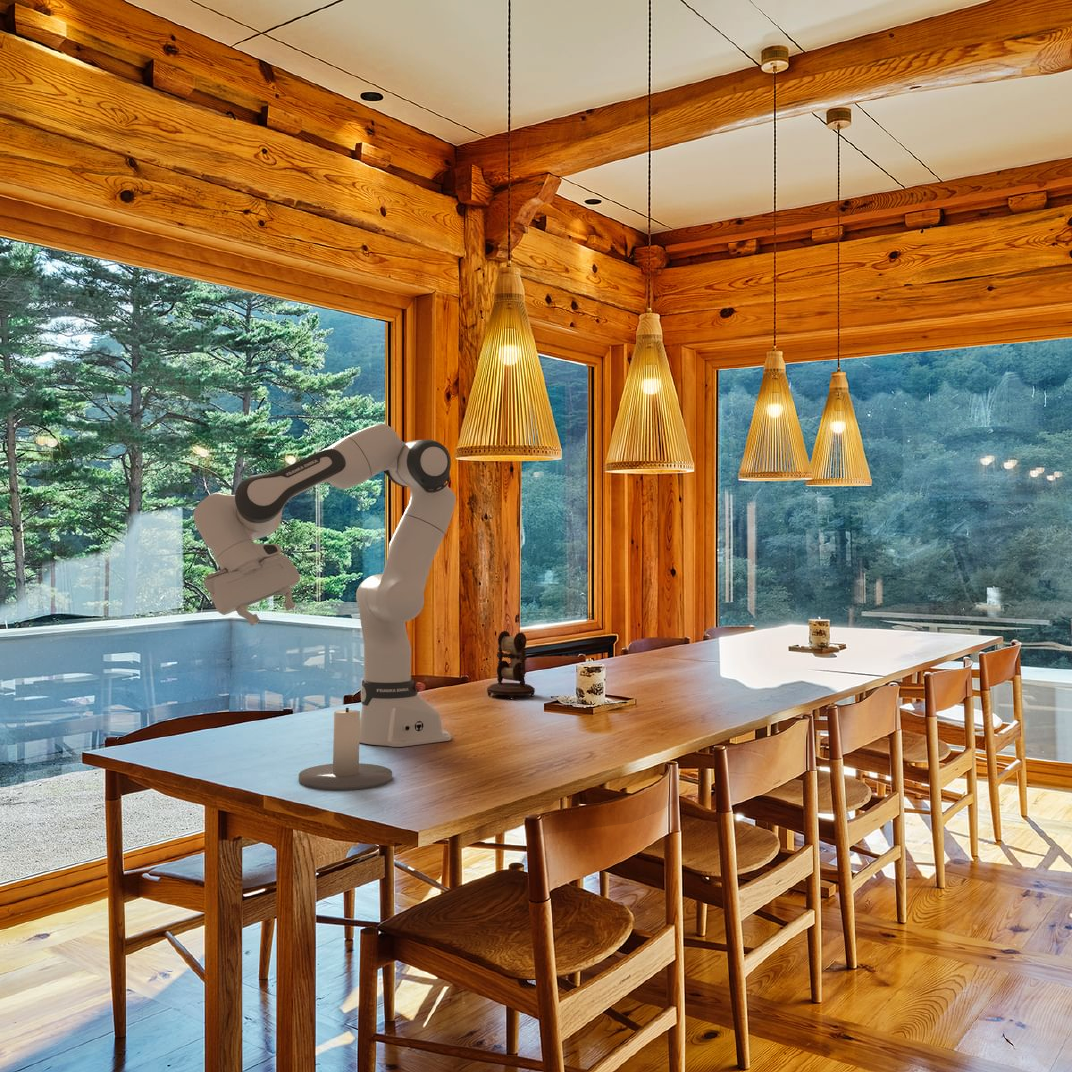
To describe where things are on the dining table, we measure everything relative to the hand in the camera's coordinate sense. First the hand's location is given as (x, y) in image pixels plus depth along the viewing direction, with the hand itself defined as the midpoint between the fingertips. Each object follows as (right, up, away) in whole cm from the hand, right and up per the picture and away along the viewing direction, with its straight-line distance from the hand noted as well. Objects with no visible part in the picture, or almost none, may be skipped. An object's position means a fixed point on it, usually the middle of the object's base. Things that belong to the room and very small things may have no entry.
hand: (274, 616), depth 212 cm
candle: (+19, -29, -18) cm, 39 cm away
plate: (+19, -31, -18) cm, 40 cm away
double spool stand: (+48, -33, +94) cm, 110 cm away
